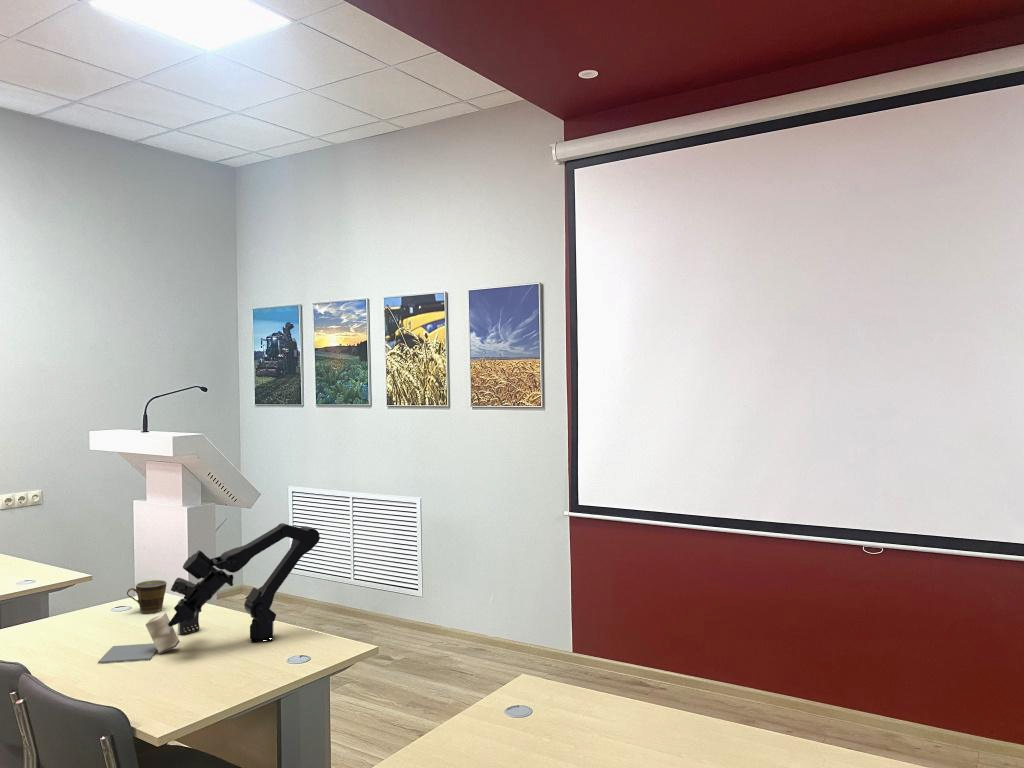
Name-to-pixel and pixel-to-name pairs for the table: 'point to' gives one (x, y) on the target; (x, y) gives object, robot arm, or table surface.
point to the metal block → (162, 633)
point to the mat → (129, 653)
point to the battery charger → (189, 624)
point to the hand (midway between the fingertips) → (169, 625)
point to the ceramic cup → (150, 596)
